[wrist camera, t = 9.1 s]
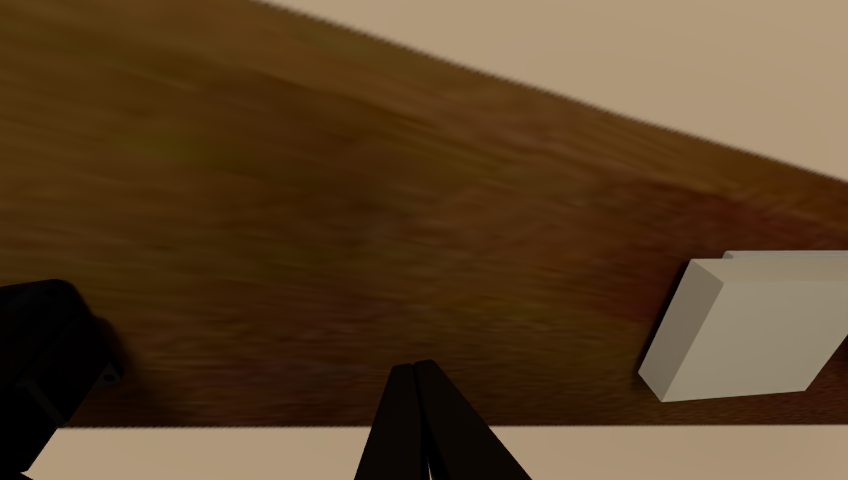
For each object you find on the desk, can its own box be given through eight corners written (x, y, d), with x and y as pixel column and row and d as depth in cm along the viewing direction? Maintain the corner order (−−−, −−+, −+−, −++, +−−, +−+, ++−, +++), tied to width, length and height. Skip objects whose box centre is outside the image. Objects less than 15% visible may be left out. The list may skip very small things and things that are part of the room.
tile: (661, 402, 25) (804, 390, 27) (724, 283, 21) (889, 279, 23) (636, 371, 28) (771, 362, 30) (689, 257, 23) (842, 256, 25)
